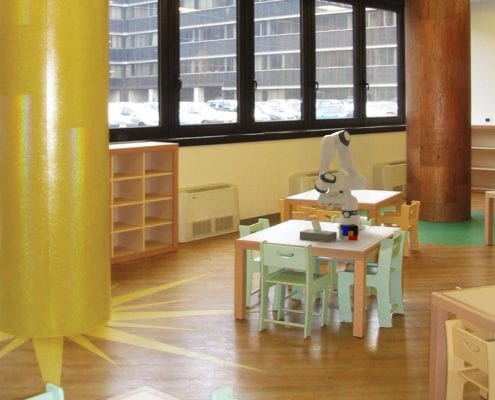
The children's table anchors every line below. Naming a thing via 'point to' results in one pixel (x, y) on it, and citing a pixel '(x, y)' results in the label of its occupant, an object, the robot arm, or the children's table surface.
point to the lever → (315, 222)
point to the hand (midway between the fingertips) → (329, 209)
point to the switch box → (318, 235)
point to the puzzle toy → (348, 232)
